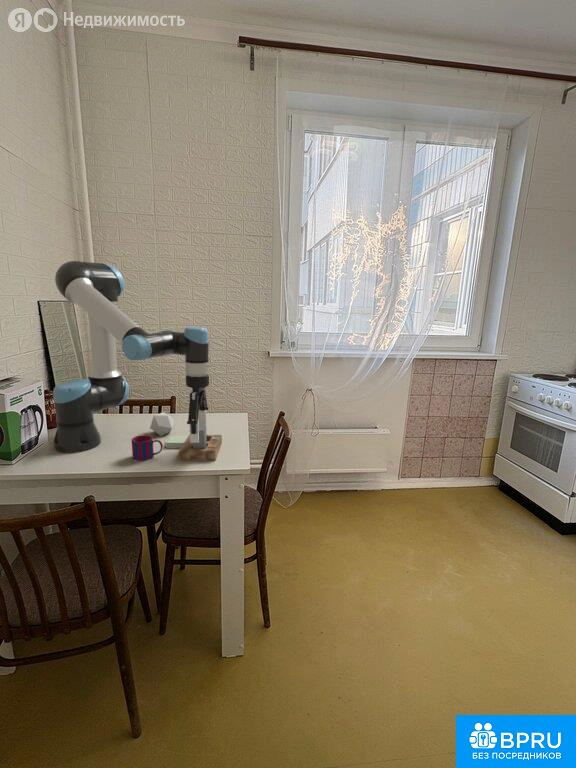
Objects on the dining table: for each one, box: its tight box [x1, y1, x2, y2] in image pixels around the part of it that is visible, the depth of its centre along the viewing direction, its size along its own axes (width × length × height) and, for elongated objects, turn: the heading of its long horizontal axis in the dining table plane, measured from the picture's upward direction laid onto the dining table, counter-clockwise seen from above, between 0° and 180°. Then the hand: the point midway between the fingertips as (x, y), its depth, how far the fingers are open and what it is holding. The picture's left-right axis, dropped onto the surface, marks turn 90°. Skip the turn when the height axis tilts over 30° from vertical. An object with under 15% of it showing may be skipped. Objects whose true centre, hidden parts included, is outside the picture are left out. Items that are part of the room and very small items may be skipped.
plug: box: [193, 426, 207, 449], centre depth 132 cm, size 4×4×10 cm
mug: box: [131, 434, 164, 462], centre depth 129 cm, size 7×10×7 cm
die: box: [149, 411, 175, 437], centre depth 152 cm, size 8×9×10 cm
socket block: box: [179, 434, 223, 461], centre depth 136 cm, size 12×15×4 cm
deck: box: [165, 435, 189, 449], centre depth 142 cm, size 7×7×2 cm
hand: (198, 434), depth 131 cm, fingers open, 13 cm apart
